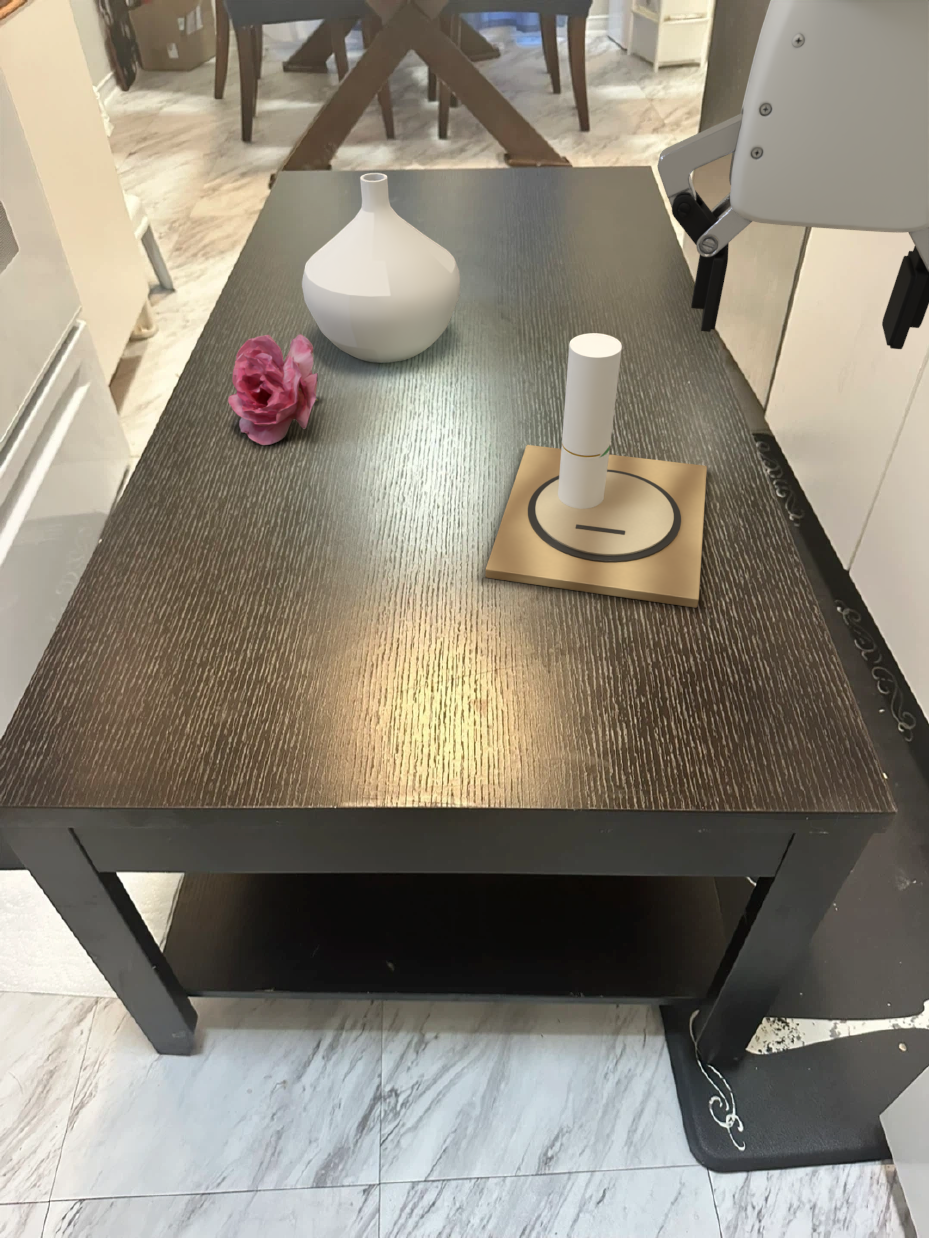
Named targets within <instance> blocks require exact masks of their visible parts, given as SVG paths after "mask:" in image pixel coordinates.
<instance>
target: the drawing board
mask: <svg viewBox="0 0 929 1238" xmlns="http://www.w3.org/2000/svg"><path fill="white" fill-rule="evenodd" d="M560 461H561V448H559V447H558V448H557V447H550V446H549V447H548V446H542V445H541V446H540V445H532V444H526V446H525V449H524V450H523V454H522V458H521V460H520V463H519V467H518V469H517V470H518V471H517V472H516V476H515V478H514V481H513V484H512V488H511V491H510V494H509V497H508V500H507V503H506V506H505V509H504V511H503V515H502V518H501V521H500V524H499V527H498V530H497V533H496V535H495V540H494V543H493V545H492V548H491V552H490V555H489V558H488V561H487V564H486V567H485V578H486V579H494V580H501V581H507V582H514V583H520V584H521V583H522V584H529V585H536V586H541V587H549V588H556V589H561V590H563V589H564V590H570V591H575V592H576V591H577V592H583V593H592V594H599V595H603V596H611V597H619V598H624V599H625V598H626V599H631V600H639V601H645V602H653V603H660V604H668V605H672V606H673V605H675V606H681V607H688V608H695V609H696V608H697V607H698V604H699V600H700V587H701V568H702V553H703V552H702V551H703V537H704V523H705V522H704V520H705V505H706V504H705V503H706V490H707V489H706V487H707V472H708V465H703V464H694V463H687V462H677V461H668V460H662V459H661V460H660V459H653V458H652V459H651V458H642V457H634V456H627V455H619V454H610V453H609V458H608V467H607V475H606V483H605V491H604V499H603V501H602V502H601V503H600V504H599V505H597V506H595V507H592V508H587V509H579V508H573V507H570V506H567V505H566V504H564V503H563V502H561V500H560V499H559V497H558V487H559V474H560Z"/></svg>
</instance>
